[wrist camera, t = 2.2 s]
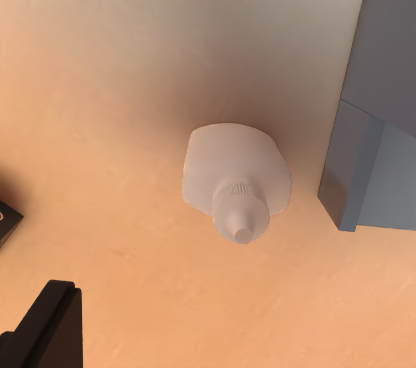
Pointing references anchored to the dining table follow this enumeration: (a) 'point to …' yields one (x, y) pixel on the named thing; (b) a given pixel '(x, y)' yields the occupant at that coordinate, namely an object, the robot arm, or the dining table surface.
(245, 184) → the eye dropper bottle
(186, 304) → the dining table surface
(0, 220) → the watch
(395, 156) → the step shelf
